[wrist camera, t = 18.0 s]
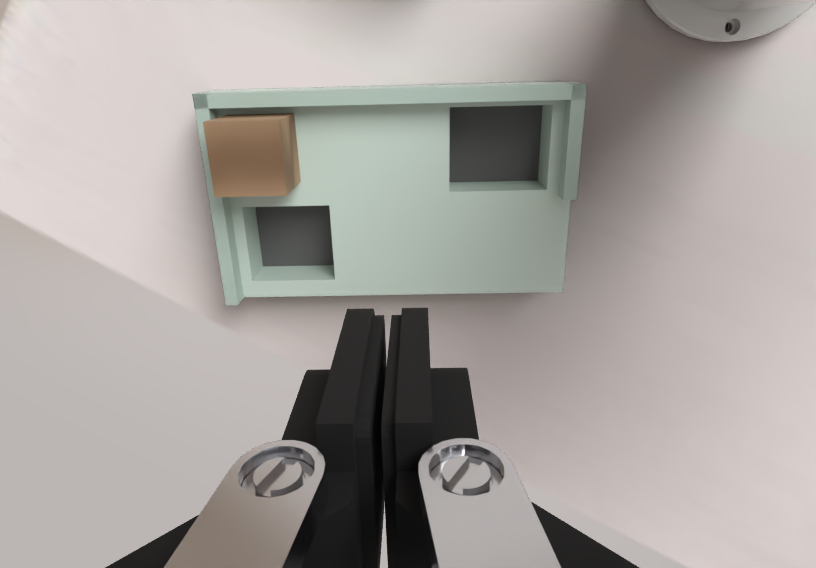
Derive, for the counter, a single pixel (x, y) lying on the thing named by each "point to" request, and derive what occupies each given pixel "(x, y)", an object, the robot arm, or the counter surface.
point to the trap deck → (406, 190)
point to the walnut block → (252, 154)
